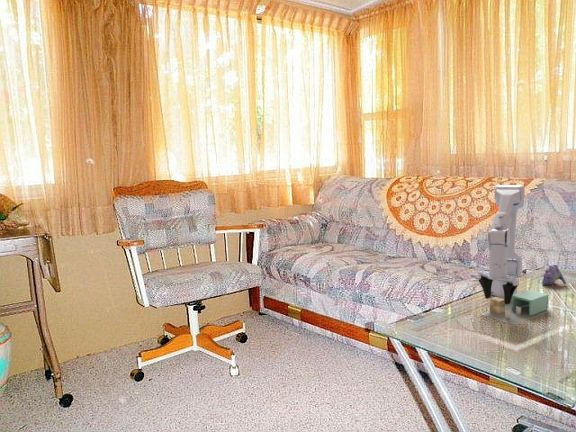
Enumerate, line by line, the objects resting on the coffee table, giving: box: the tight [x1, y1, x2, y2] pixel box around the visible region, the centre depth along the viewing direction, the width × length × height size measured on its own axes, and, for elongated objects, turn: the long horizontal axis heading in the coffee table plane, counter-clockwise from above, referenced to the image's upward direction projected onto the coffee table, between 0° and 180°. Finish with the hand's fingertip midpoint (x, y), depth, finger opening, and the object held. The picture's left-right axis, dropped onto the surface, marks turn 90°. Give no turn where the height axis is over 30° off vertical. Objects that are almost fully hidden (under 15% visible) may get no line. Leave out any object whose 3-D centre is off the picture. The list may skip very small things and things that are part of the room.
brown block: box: [489, 296, 506, 314], centre depth 165 cm, size 4×4×5 cm
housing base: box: [480, 303, 552, 326], centre depth 163 cm, size 13×22×4 cm, turn 121°
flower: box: [541, 264, 567, 286], centre depth 196 cm, size 9×9×10 cm
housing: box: [510, 289, 549, 316], centre depth 164 cm, size 7×10×5 cm
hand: (497, 300), depth 165 cm, fingers open, 7 cm apart
